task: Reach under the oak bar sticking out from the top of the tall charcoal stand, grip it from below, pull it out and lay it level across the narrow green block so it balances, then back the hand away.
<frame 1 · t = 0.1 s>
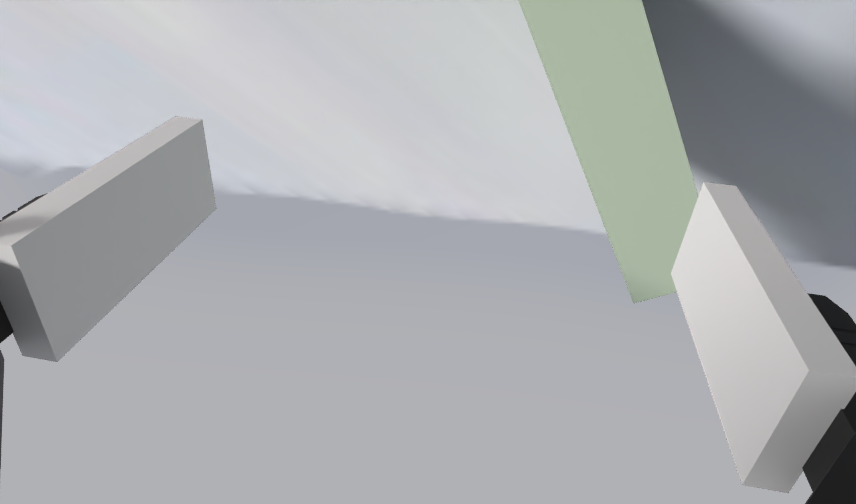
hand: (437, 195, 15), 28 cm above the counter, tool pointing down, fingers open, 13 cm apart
green block: (580, 12, 38), on the counter
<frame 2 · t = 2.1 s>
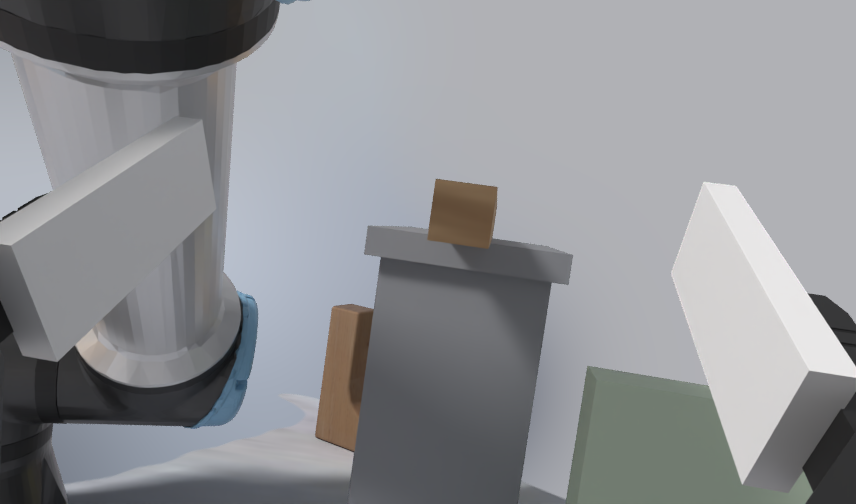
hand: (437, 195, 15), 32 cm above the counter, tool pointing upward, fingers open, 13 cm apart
wooden block: (350, 444, 76), on the counter
oak bar: (470, 239, 41), point 30 cm above the counter, touching stand
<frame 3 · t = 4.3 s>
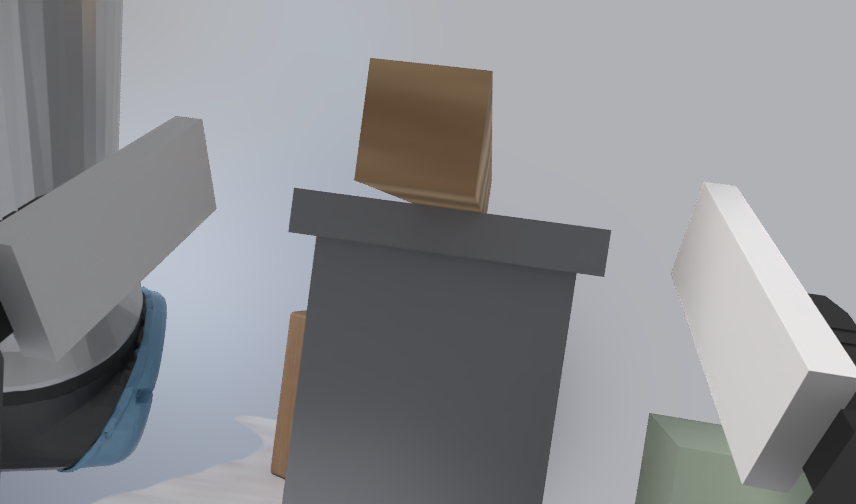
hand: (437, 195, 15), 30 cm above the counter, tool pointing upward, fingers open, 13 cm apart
wooden block: (314, 481, 62), on the counter
oak bar: (452, 211, 28), point 30 cm above the counter, touching stand
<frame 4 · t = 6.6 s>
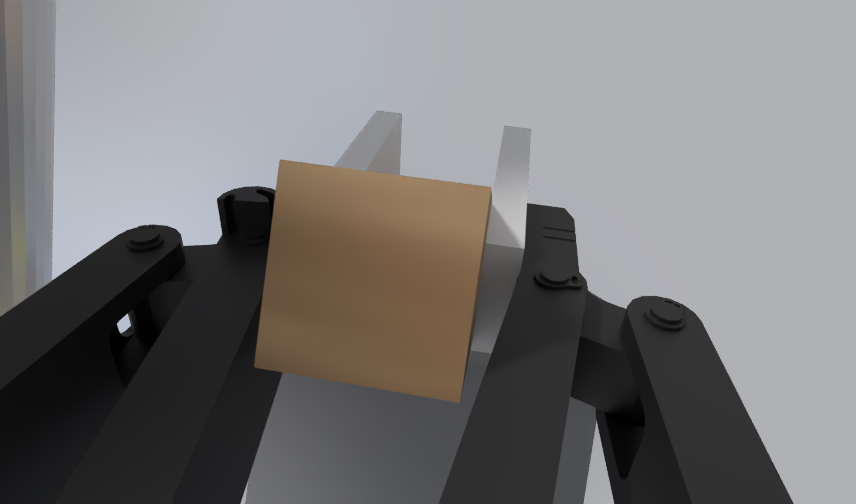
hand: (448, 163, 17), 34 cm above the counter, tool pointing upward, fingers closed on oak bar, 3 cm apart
oak bar: (443, 287, 22), point 30 cm above the counter, touching gripper, stand
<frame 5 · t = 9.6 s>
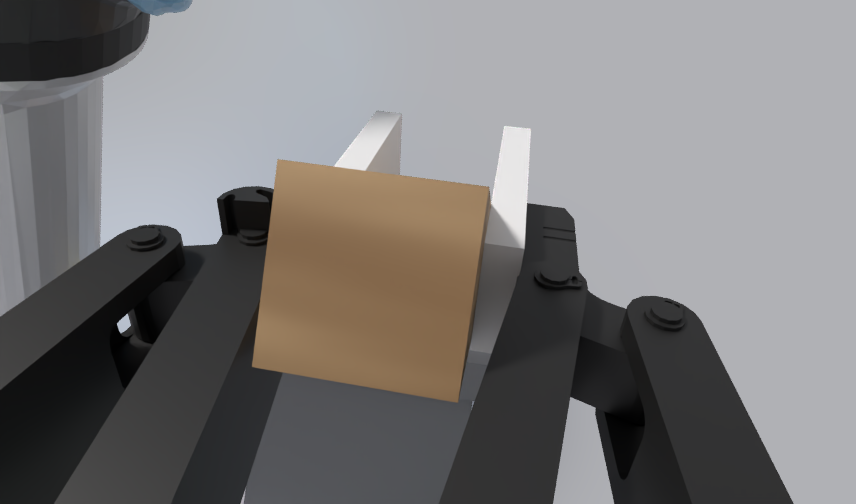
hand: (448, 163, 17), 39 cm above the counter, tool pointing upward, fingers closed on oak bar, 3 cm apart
oak bar: (442, 287, 22), point 35 cm above the counter, touching gripper
when the fingers open (30 cm above the counter, at t = 12.7 s): oak bar drops 1 cm, resting on green block.
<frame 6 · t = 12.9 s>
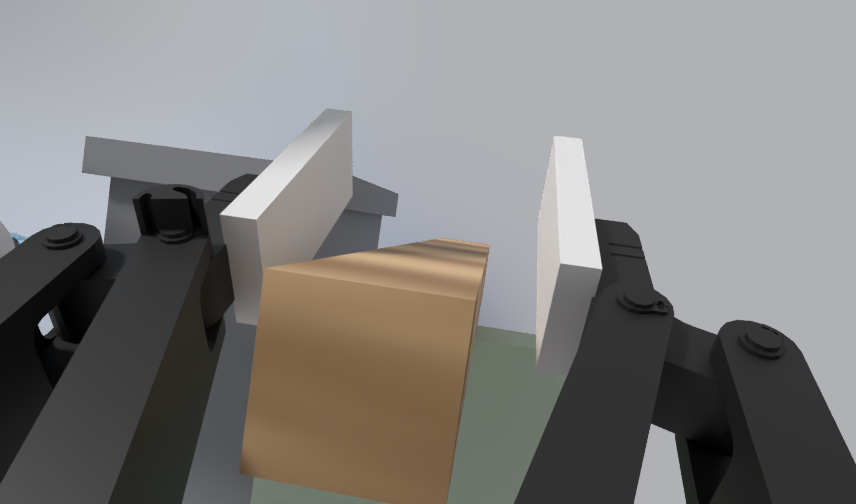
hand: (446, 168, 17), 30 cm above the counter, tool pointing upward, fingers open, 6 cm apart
oak bar: (437, 326, 22), point 24 cm above the counter, touching green block
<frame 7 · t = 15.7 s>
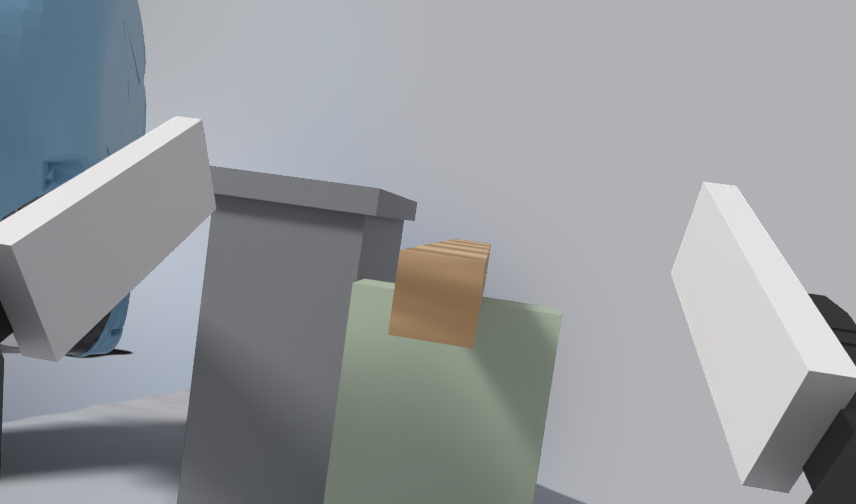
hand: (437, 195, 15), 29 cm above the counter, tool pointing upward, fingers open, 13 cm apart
oak bar: (456, 295, 34), point 24 cm above the counter, touching green block
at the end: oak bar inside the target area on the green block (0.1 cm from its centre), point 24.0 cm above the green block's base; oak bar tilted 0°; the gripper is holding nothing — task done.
